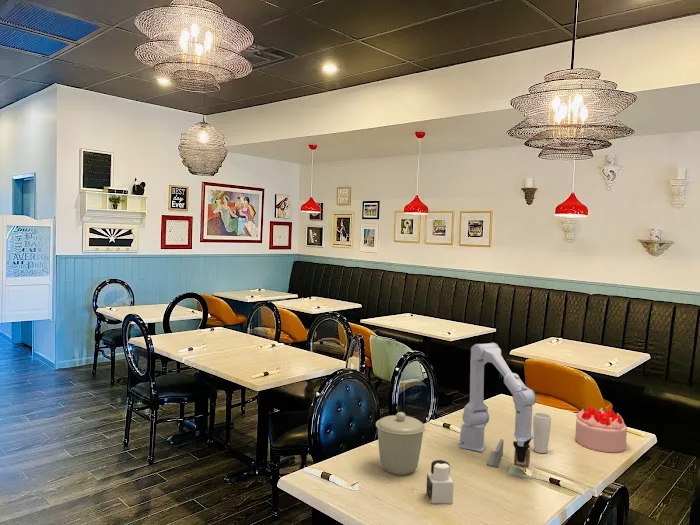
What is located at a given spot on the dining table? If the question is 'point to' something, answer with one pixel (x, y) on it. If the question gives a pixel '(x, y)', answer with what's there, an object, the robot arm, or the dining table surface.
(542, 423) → the beige paper cup
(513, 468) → the pad
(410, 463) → the canister
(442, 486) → the medicine bottle
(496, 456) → the grey block
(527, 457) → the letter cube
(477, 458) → the dining table surface
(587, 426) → the cake
